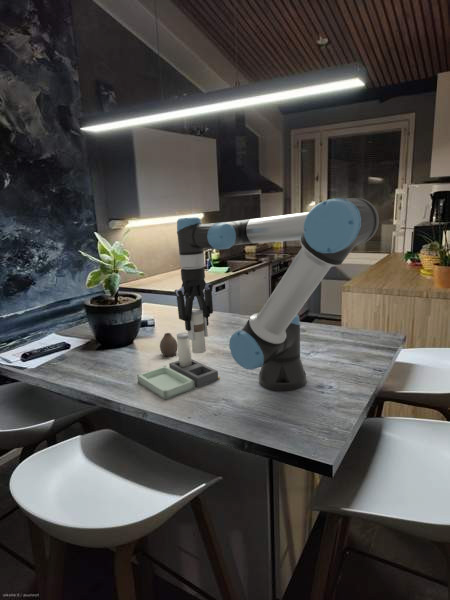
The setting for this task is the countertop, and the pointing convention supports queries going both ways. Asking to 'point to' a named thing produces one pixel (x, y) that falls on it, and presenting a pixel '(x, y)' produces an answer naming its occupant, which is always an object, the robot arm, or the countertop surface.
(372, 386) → the countertop surface
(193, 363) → the fuse block
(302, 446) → the countertop surface
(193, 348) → the cylinder
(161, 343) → the vase
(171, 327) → the countertop surface
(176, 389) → the tray
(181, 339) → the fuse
